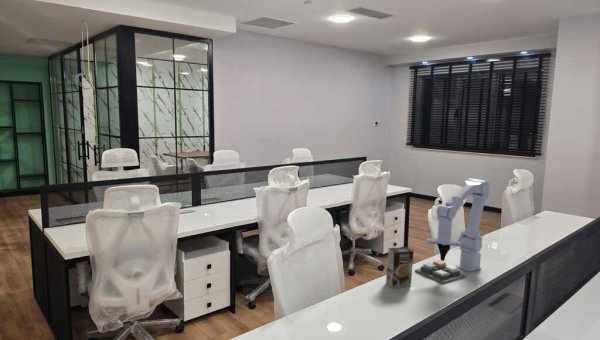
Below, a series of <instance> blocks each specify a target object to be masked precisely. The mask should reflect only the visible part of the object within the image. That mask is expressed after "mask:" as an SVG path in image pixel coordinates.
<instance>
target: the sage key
mask: <svg viewBox="0 0 600 340" xmlns="http://www.w3.org/2000/svg"><path fill="white" fill-rule="evenodd" d="M435 273H438V274H440V275H446V274H448V273H447V272H445V271H443V270H438V271H435Z"/></svg>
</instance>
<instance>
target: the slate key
mask: <svg viewBox="0 0 600 340" xmlns="http://www.w3.org/2000/svg"><path fill="white" fill-rule="evenodd" d="M422 266H423V267H424V268H426V269H428V270H432V269H436V265H434V264H433V263H431V262H425V263H423V264H422Z"/></svg>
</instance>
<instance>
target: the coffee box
mask: <svg viewBox="0 0 600 340" xmlns="http://www.w3.org/2000/svg"><path fill="white" fill-rule="evenodd" d="M387 252H388V253H387V261H386V262H387V265H386V266H387V267H386V277H385V279H386V280H385V283H386V284H387V285H388V286H389V287H390V288H391V289H398V288H399V289H401V288H411V287H412V277H413V275H412V274H413V263H414V250H412V249H410V248H408V247H407V246H404V247H403V246H402V247H389V248H388V251H387Z"/></svg>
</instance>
